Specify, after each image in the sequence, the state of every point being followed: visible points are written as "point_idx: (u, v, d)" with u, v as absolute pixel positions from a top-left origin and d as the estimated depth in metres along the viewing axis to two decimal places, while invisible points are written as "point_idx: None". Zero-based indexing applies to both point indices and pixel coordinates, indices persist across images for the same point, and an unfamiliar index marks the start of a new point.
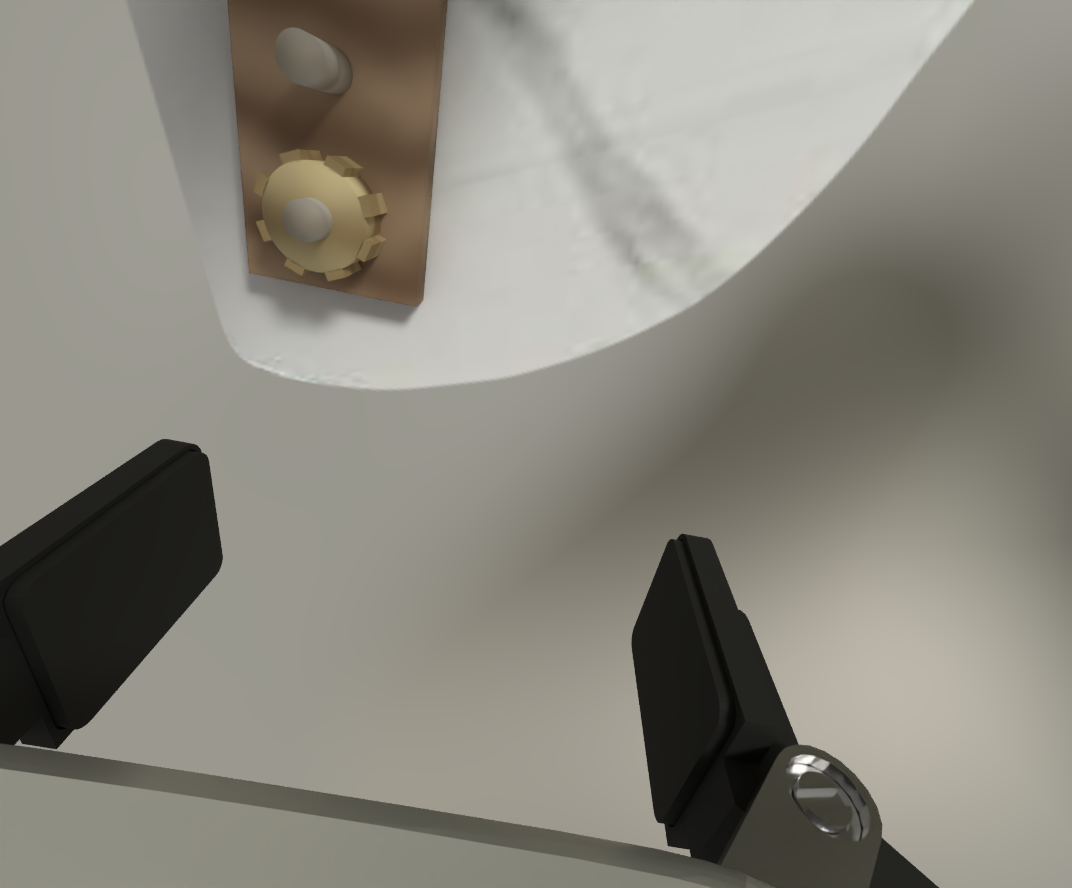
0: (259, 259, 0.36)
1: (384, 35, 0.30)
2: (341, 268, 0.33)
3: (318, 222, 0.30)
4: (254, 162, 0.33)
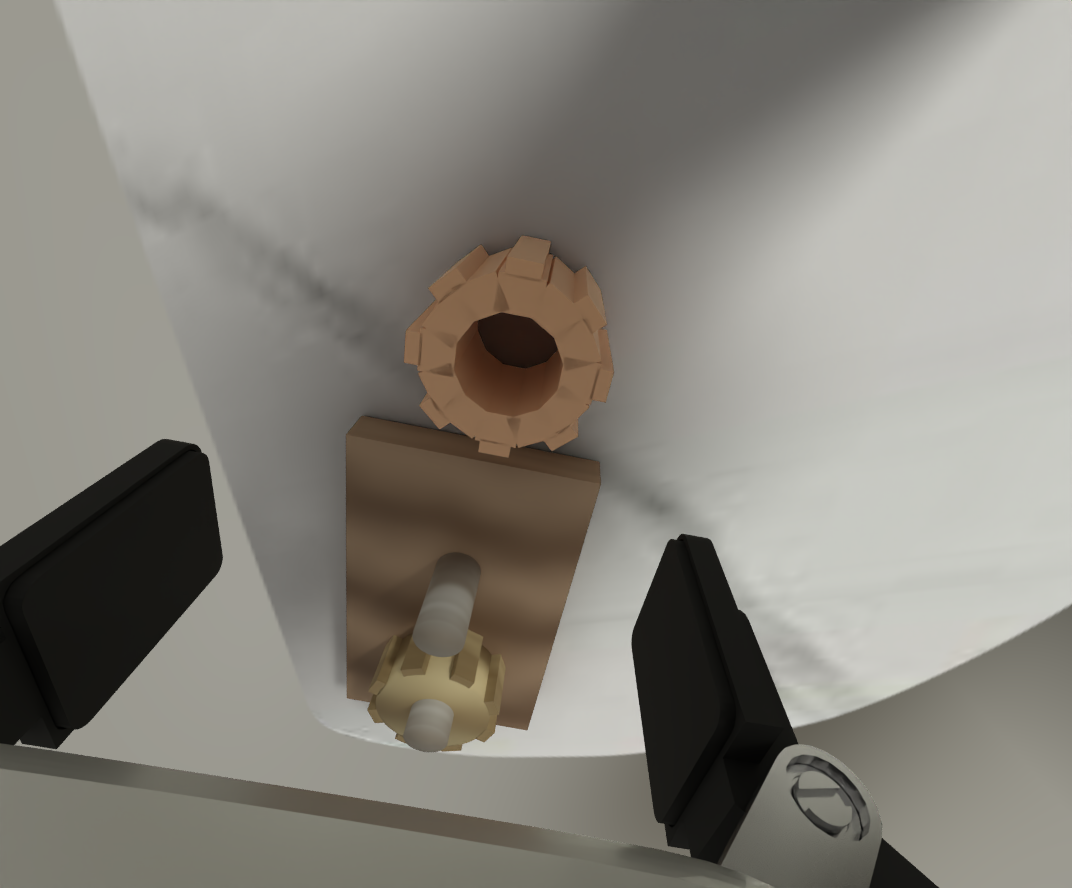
0: (359, 690, 0.33)
1: (520, 548, 0.26)
2: (458, 744, 0.30)
3: (443, 741, 0.27)
4: (362, 626, 0.30)
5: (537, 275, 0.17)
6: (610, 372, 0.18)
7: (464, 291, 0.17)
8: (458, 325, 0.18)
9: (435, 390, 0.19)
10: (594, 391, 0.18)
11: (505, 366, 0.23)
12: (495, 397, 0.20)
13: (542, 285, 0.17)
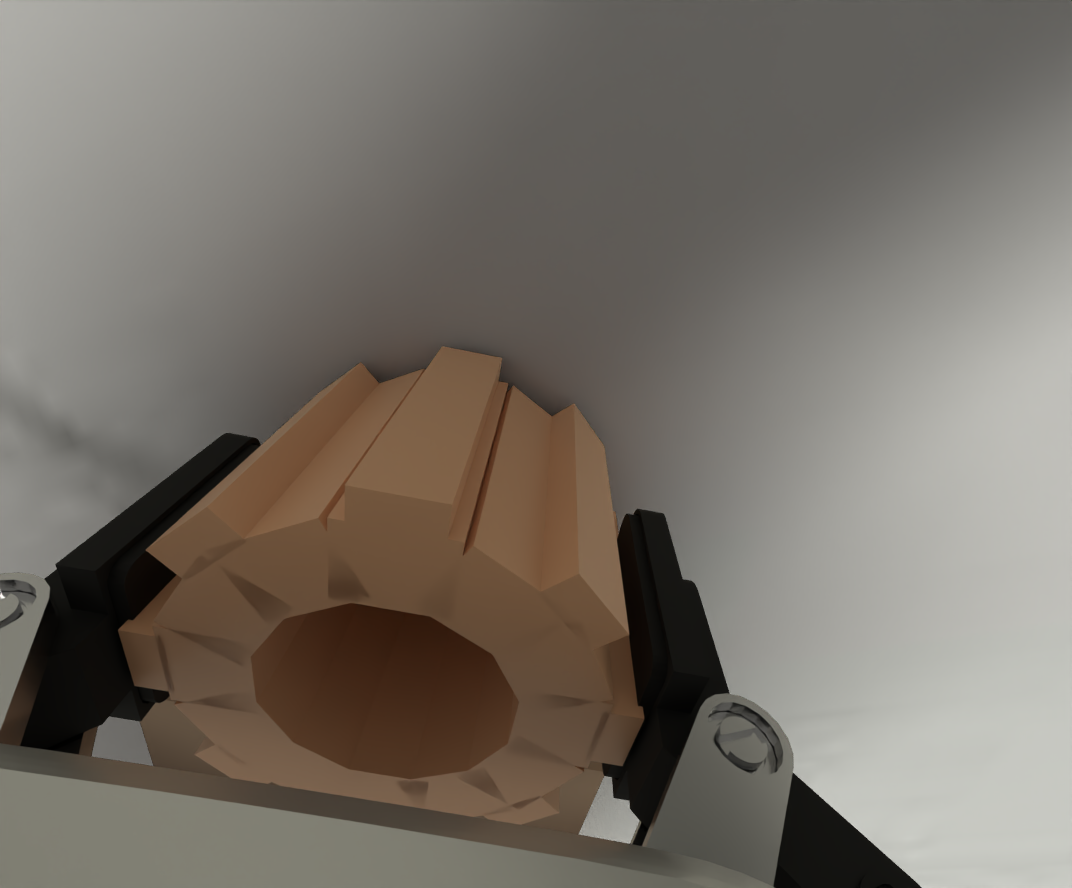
0: None
1: None
2: None
3: None
4: None
5: (436, 530, 0.06)
6: (635, 718, 0.07)
7: (244, 559, 0.06)
8: (245, 625, 0.07)
9: (223, 733, 0.08)
10: (595, 745, 0.08)
11: None
12: (383, 695, 0.10)
13: (453, 551, 0.06)
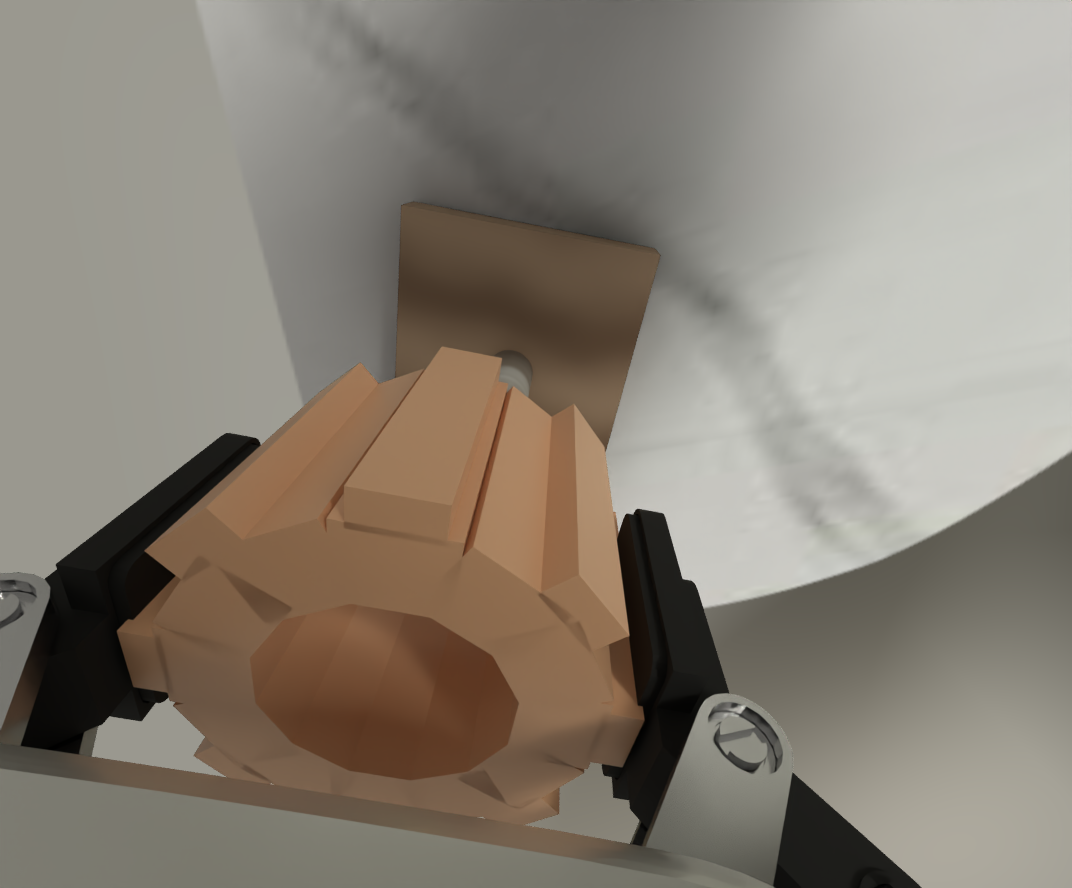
0: None
1: (574, 341, 0.26)
2: None
3: None
4: None
5: (435, 531, 0.06)
6: (635, 719, 0.07)
7: (243, 559, 0.06)
8: (244, 626, 0.07)
9: (222, 734, 0.08)
10: (594, 746, 0.08)
11: None
12: (383, 696, 0.09)
13: (452, 551, 0.06)
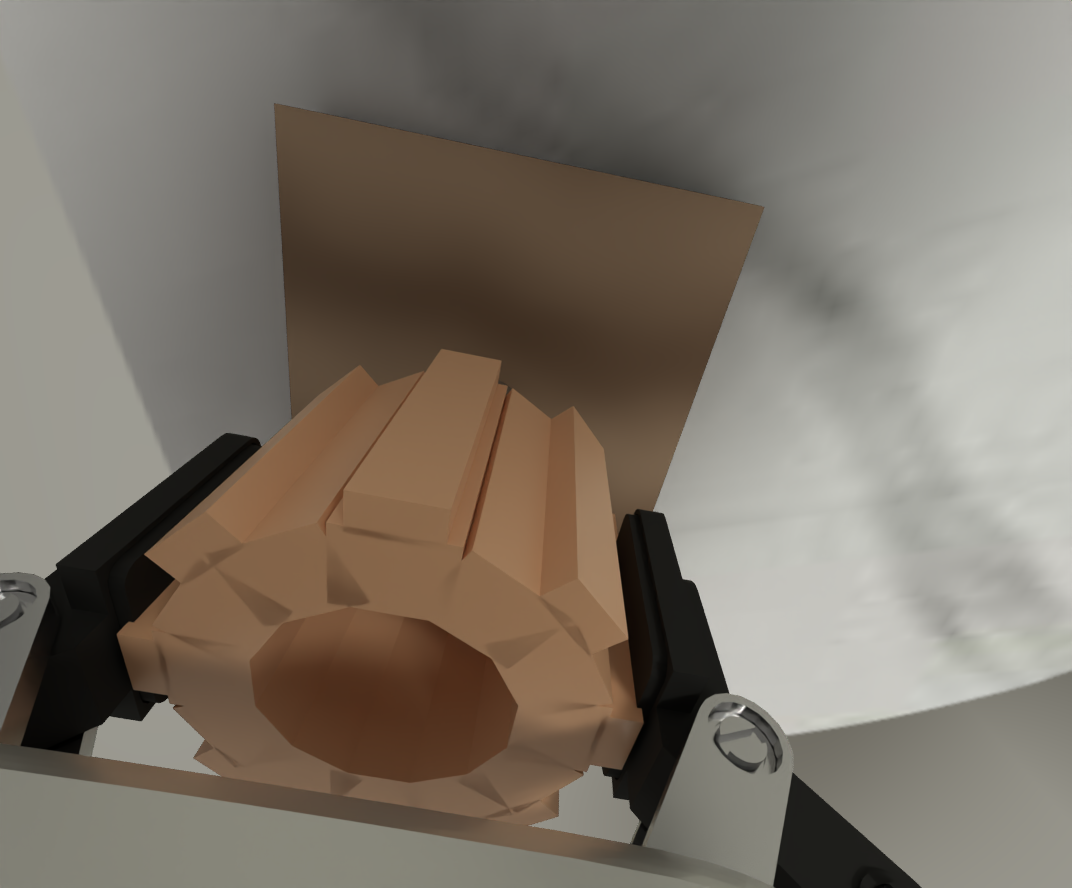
0: None
1: (597, 363, 0.15)
2: None
3: None
4: None
5: (435, 535, 0.06)
6: (634, 722, 0.07)
7: (242, 563, 0.06)
8: (244, 630, 0.07)
9: (222, 736, 0.08)
10: (594, 749, 0.08)
11: None
12: (383, 698, 0.09)
13: (451, 555, 0.06)
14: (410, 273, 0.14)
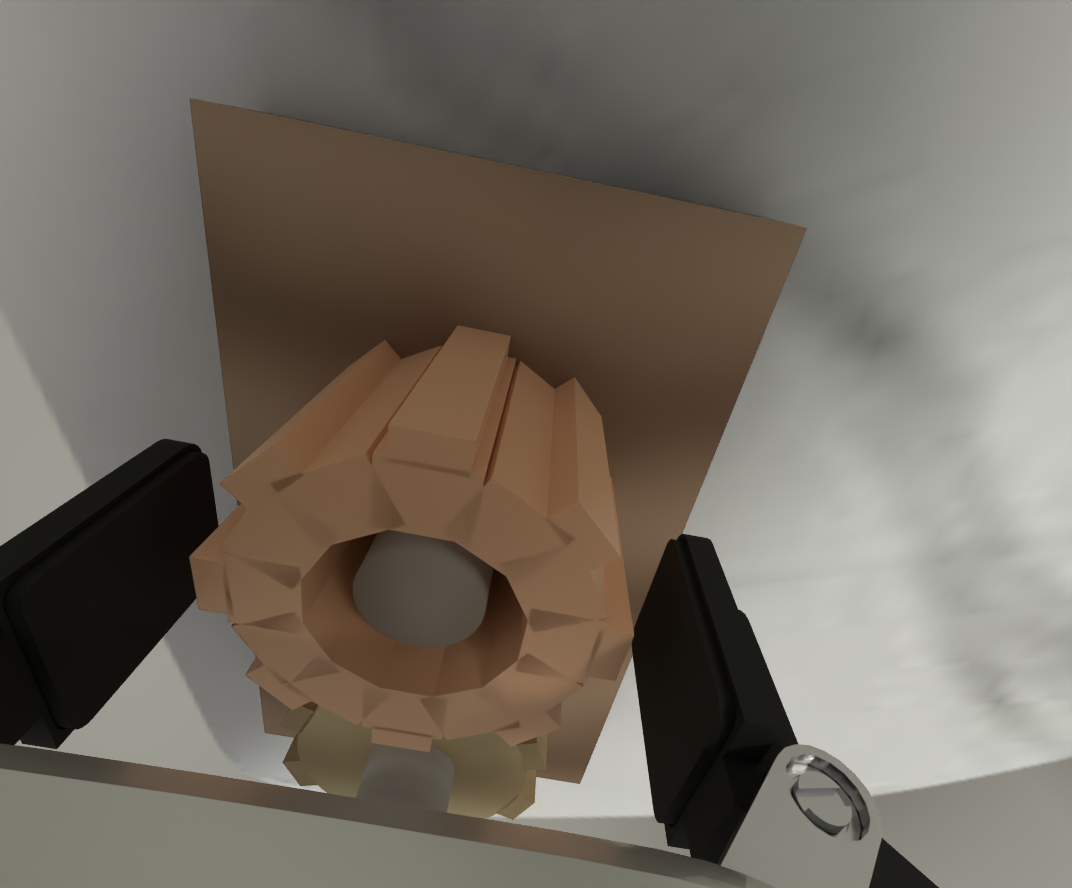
0: None
1: (599, 413, 0.12)
2: None
3: None
4: None
5: (462, 464, 0.07)
6: (626, 635, 0.09)
7: (301, 490, 0.08)
8: (298, 551, 0.08)
9: (272, 653, 0.09)
10: (592, 662, 0.09)
11: None
12: None
13: (475, 482, 0.07)
14: (369, 307, 0.11)
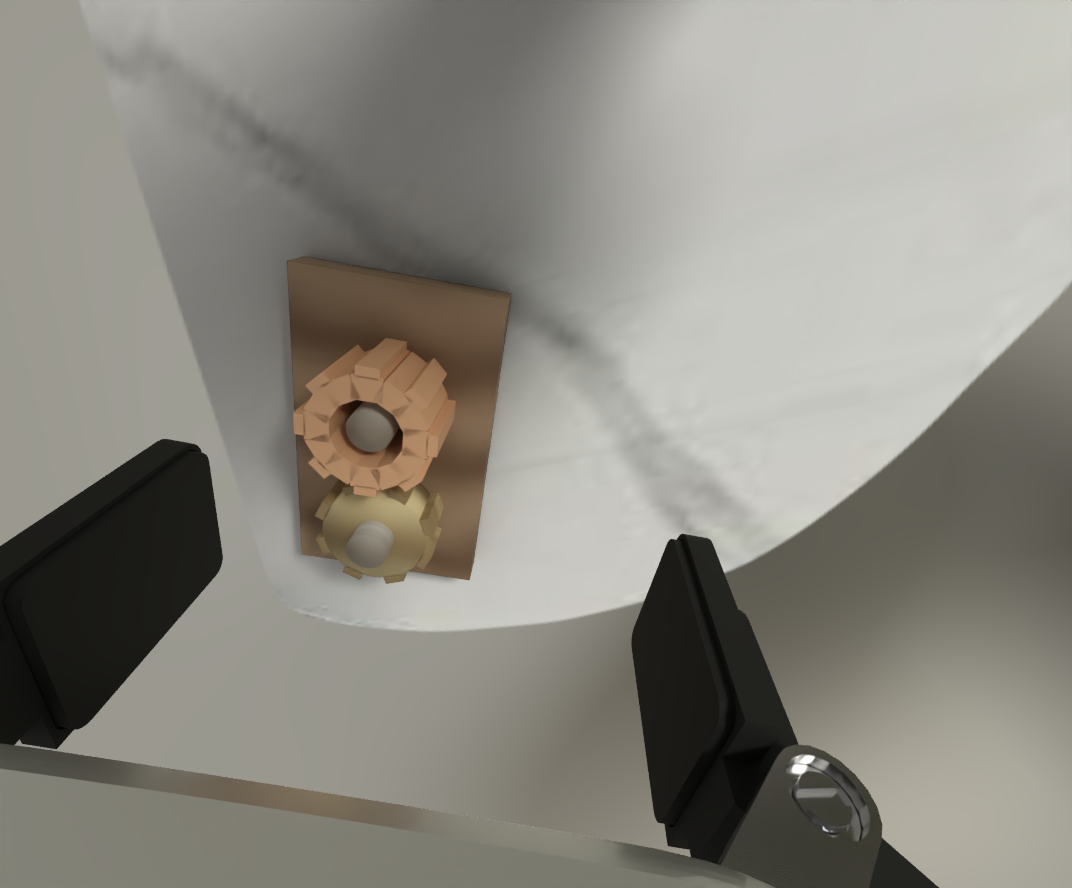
0: (312, 543, 0.36)
1: (446, 372, 0.30)
2: (400, 573, 0.33)
3: (382, 553, 0.30)
4: (311, 469, 0.33)
5: (376, 376, 0.25)
6: (436, 437, 0.26)
7: (329, 387, 0.25)
8: (328, 408, 0.26)
9: (318, 452, 0.27)
10: (427, 450, 0.27)
11: None
12: (366, 454, 0.28)
13: (381, 382, 0.25)
14: (351, 331, 0.29)
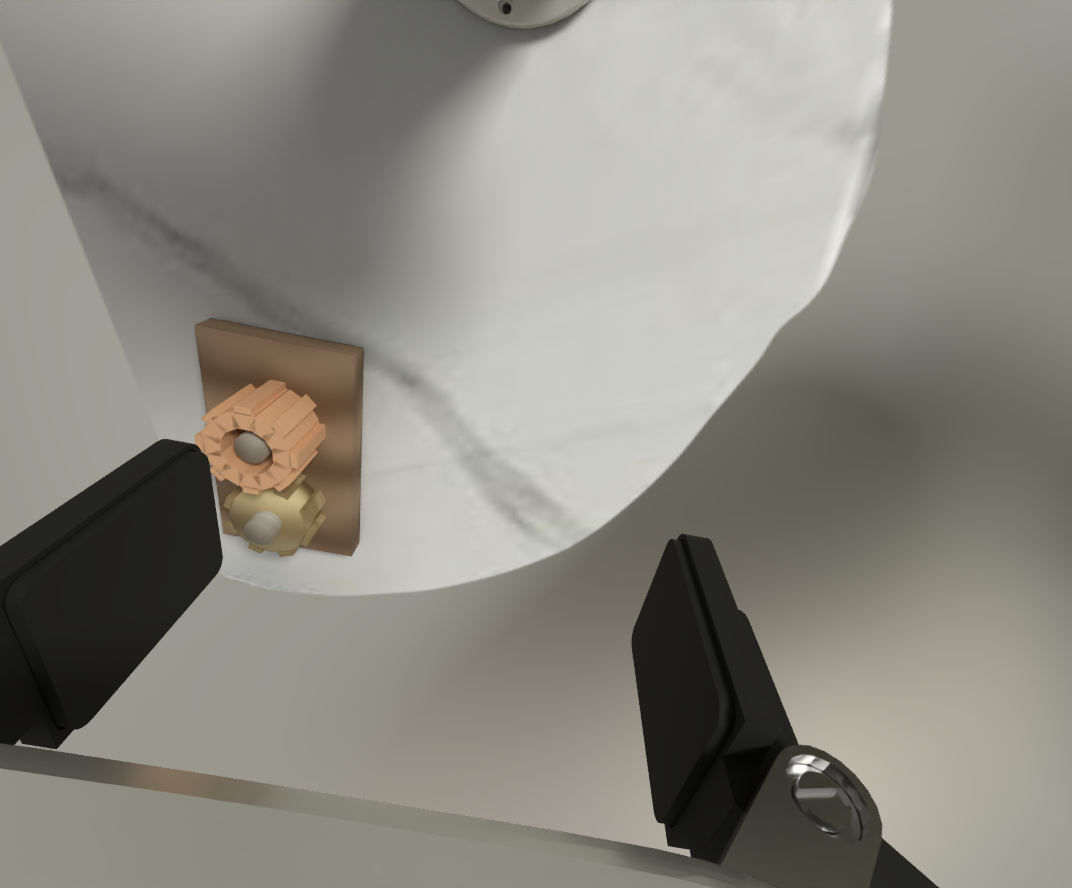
0: None
1: (316, 404, 0.41)
2: (290, 549, 0.44)
3: (269, 534, 0.42)
4: None
5: (249, 413, 0.36)
6: (295, 455, 0.37)
7: (218, 419, 0.36)
8: (218, 434, 0.37)
9: (214, 462, 0.38)
10: (291, 463, 0.38)
11: None
12: (253, 464, 0.39)
13: (252, 417, 0.36)
14: (244, 374, 0.40)
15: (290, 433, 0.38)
